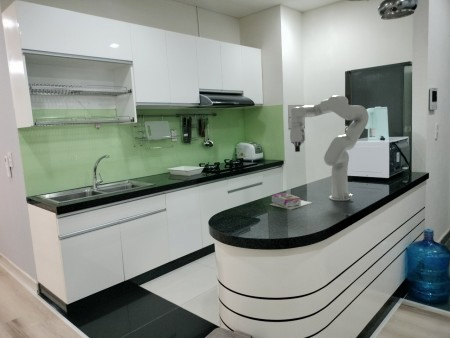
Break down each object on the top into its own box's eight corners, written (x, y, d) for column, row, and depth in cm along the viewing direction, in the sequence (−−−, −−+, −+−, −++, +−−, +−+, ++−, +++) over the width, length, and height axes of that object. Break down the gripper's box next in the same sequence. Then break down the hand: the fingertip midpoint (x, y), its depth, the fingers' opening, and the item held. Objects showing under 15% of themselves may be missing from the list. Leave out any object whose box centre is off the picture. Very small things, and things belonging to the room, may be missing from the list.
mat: (312, 203, 209) (312, 202, 209) (290, 209, 197) (290, 208, 197) (291, 198, 222) (291, 198, 222) (269, 204, 210) (269, 204, 210)
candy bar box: (286, 192, 218) (301, 197, 203) (286, 199, 218) (301, 205, 203) (271, 194, 214) (284, 199, 199) (271, 202, 214) (284, 208, 199)
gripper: (309, 124, 230) (309, 151, 232) (292, 125, 242) (292, 150, 244) (301, 125, 225) (302, 152, 228) (285, 125, 237) (285, 151, 240)
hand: (297, 151), depth 236 cm, fingers closed
